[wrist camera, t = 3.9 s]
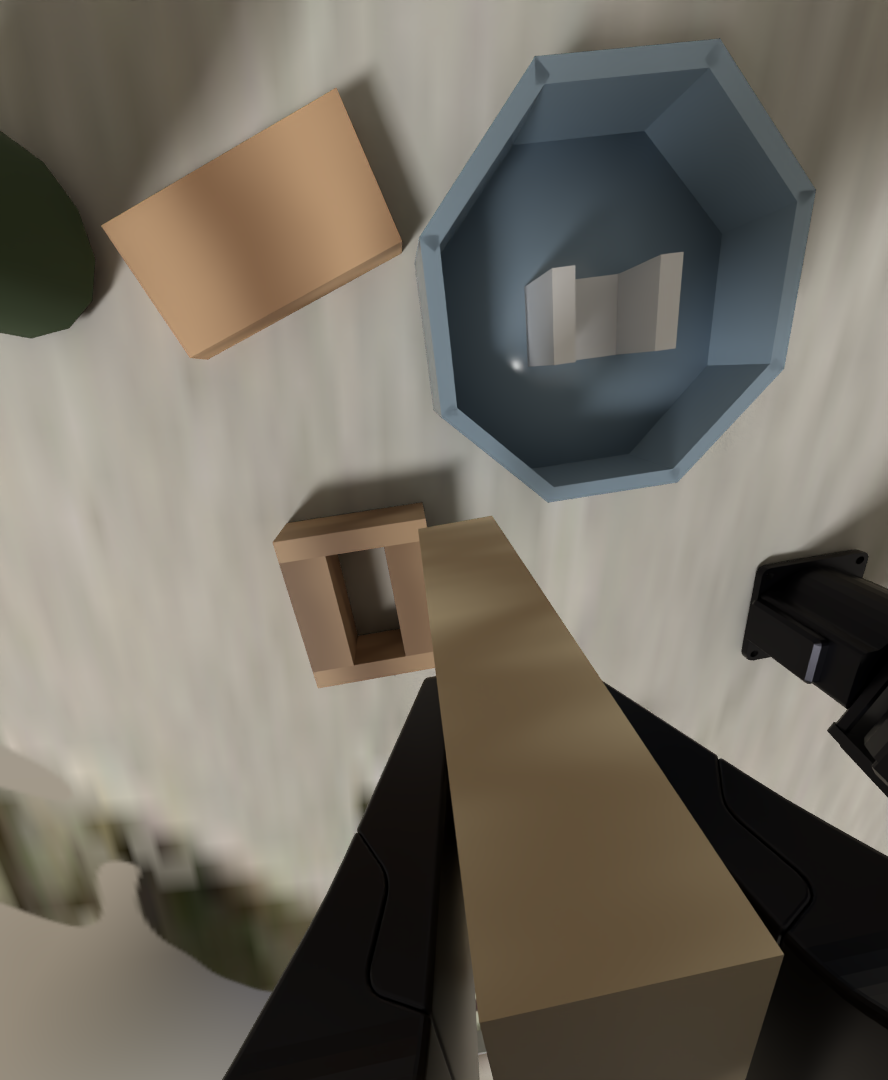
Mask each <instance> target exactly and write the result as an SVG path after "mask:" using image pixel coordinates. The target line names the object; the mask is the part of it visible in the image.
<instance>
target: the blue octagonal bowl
mask: <svg viewBox="0 0 888 1080" xmlns="http://www.w3.org/2000/svg"><path fill="white" fill-rule="evenodd" d="M815 193H816V189H815V188H814V186H813V185H812V183H811V181H810V180H809V178H808V177H807V175H806V174H805V172H804V170H803V169H802V167H801V166H800V164H799V162H798V161H797V159H796V158H795V156H794V155H793V153H792V151H791V150H790V148H789V147H788V145H787V144H786V142H785V140H784V139H783V137H782V136H781V134H780V132H779V131H778V129H777V128H776V126H775V125H774V123H773V121H772V120H771V118H770V117H769V115H768V114H767V112H766V110H765V109H764V107H763V106H762V104H761V102H760V101H759V99H758V98H757V96H756V95H755V93H754V91H753V90H752V88H751V87H750V85H749V84H748V82H747V80H746V79H745V77H744V76H743V74H742V72H741V71H740V69H739V68H738V66H737V65H736V63H735V61H734V60H733V58H732V57H731V55H730V54H729V52H728V50H727V49H726V47H725V46H724V44H723V42H722V41H721V39H720V38H719V39H710V40H700V41H689V42H679V43H669V44H658V45H648V46H637V47H627V48H617V49H606V50H596V51H585V52H575V53H565V54H554V55H544V56H535V57H534V59H533V61H532V62H531V64H530V65H529V67H528V68H527V70H526V72H525V73H524V75H523V76H522V78H521V79H520V81H519V82H518V84H517V86H516V87H515V89H514V90H513V92H512V93H511V95H510V97H509V98H508V100H507V101H506V103H505V104H504V106H503V107H502V109H501V111H500V112H499V114H498V115H497V117H496V118H495V120H494V122H493V123H492V125H491V126H490V128H489V129H488V131H487V132H486V134H485V136H484V137H483V139H482V140H481V142H480V143H479V145H478V146H477V148H476V150H475V151H474V153H473V154H472V156H471V157H470V159H469V161H468V162H467V164H466V165H465V167H464V168H463V170H462V171H461V173H460V175H459V176H458V178H457V179H456V181H455V182H454V184H453V186H452V187H451V189H450V190H449V192H448V193H447V195H446V196H445V198H444V200H443V201H442V203H441V204H440V206H439V207H438V209H437V211H436V212H435V214H434V215H433V217H432V218H431V220H430V221H429V223H428V225H427V226H426V228H425V229H424V231H423V232H422V234H421V236H419V242H418V247H417V253H416V259H415V270H416V278H417V285H418V293H419V301H420V308H421V316H422V324H423V332H424V339H425V347H426V355H427V362H428V370H429V378H430V386H431V393H432V401H433V409H434V411H435V412H436V413H437V414H438V415H439V416H440V417H441V418H443V419H444V420H446V421H447V422H448V423H449V424H451V425H452V426H453V427H454V428H456V429H457V430H458V431H459V432H461V433H462V434H463V435H464V436H466V437H467V438H468V439H469V440H471V441H472V442H473V443H474V444H476V445H477V446H478V447H479V448H481V449H482V450H483V451H484V452H486V453H487V454H488V455H489V456H491V457H492V458H493V459H494V460H496V461H497V462H498V463H499V464H501V465H502V466H503V467H504V468H506V469H507V470H508V471H509V472H511V473H512V474H513V475H514V476H516V477H517V478H518V479H519V480H521V481H522V482H523V483H524V484H526V485H527V486H528V487H529V488H531V489H532V490H533V491H534V492H536V493H537V494H538V495H539V496H541V497H542V498H543V499H544V500H545V501H547V502H548V503H549V502H554V501H561V500H567V499H574V498H580V497H586V496H593V495H599V494H606V493H612V492H618V491H625V490H631V489H638V488H644V487H650V486H657V485H663V484H670V483H676V482H678V481H679V480H680V479H681V478H682V477H683V476H684V475H685V474H686V473H687V472H688V471H689V470H690V468H691V467H692V466H693V465H694V464H695V463H696V462H697V461H698V460H699V459H700V458H701V457H702V456H703V455H704V454H705V452H706V451H707V450H708V449H709V448H710V447H711V446H712V445H713V444H714V443H715V442H716V441H717V440H718V439H719V438H720V436H721V435H722V434H723V433H724V432H725V431H726V430H727V429H728V428H729V427H730V426H731V425H732V424H733V423H734V422H735V420H736V419H737V418H738V417H739V416H740V415H741V414H742V413H743V412H744V411H745V410H746V409H747V408H748V407H749V406H750V404H751V403H752V402H753V401H754V400H755V399H756V398H757V397H758V396H759V395H760V394H761V393H762V392H763V391H764V390H765V388H766V387H767V386H768V385H769V384H770V383H771V382H772V381H773V380H774V379H775V378H776V377H777V376H778V375H779V374H780V372H781V371H782V370H783V369H784V366H785V361H786V355H787V350H788V344H789V338H790V333H791V327H792V322H793V316H794V310H795V305H796V299H797V294H798V288H799V282H800V277H801V271H802V266H803V260H804V254H805V249H806V243H807V238H808V232H809V226H810V221H811V215H812V210H813V204H814V198H815Z"/></svg>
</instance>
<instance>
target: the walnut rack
mask: <svg viewBox="0 0 888 1080" xmlns="http://www.w3.org/2000/svg"><path fill="white" fill-rule="evenodd" d="M426 527H427V524H426V518H425V513H424V509H423V504H422V502H421V503H414V504H408V505H401V506H394V507H388V508H381V509H375V510H368V511H362V512H355V513H349V514H342V515H336V516H329V517H323V518H316V519H310V520H303V521H297V522H290V523H287V524H286V525H285V526H284V528H283V529H282V530H281V532H280V533H279V535H278V536H277V537H276V539H275V540H274V541H273V545H274V548H275V552H276V555H277V558H278V561H279V565H280V568H281V571H282V574H283V577H284V581H285V584H286V587H287V590H288V593H289V597H290V600H291V603H292V606H293V609H294V613H295V616H296V619H297V622H298V626H299V629H300V632H301V635H302V638H303V642H304V645H305V648H306V651H307V654H308V658H309V661H310V664H311V667H312V670H313V674H314V677H315V680H316V683H317V687H318V688H323V687H328V686H334V685H340V684H345V683H351V682H357V681H363V680H368V679H374V678H380V677H385V676H391V675H397V674H402V673H408V672H414V671H419V670H425V669H431V668H435V662H434V654H433V646H432V638H431V629H430V621H429V613H428V605H427V597H426V589H425V581H424V573H423V565H422V557H421V549H420V541H419V533H418V529H421V528H426ZM380 547H384V549H385V554H386V559H387V564H388V569H389V574H390V579H391V584H392V589H393V594H394V599H395V604H396V609H397V614H398V619H399V624H400V629H395V630H389V631H384V632H378V633H372V634H366V635H360V636H358V634H357V630H356V626H355V622H354V618H353V614H352V610H351V606H350V602H349V598H348V594H347V590H346V586H345V581H344V577H343V573H342V569H341V565H340V561H339V557H338V554H342V553H348V552H355V551H361V550H367V549H373V548H380Z"/></svg>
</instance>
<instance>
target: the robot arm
mask: <svg viewBox="0 0 888 1080" xmlns="http://www.w3.org/2000/svg"><path fill="white" fill-rule="evenodd" d="M867 561H868V554H867V553H865V552H862V551H860V550H850V551H845V552H839V553H833V554H827V555H821V556H815V557H809V558H803V559H797V560H791V561H786V562H780V563H774V564H768V565H764V566H762V567H760V568H759V569H758V571H757V573H756V577H755V582H754V588H753V593H752V598H751V604H750V609H749V614H748V620H747V625H746V630H745V636H744V641H743V646H742V655H743V656H744V657H746V658H747V659H748V660H757V659H763V658H768V657H772V658H773V659H775V660H776V661H777V662H779V663H780V664H781V665H783V666H784V667H785V668H787V669H788V670H789V671H791V672H792V673H793V674H795V675H796V676H797V677H799V678H800V679H801V680H803V681H804V682H805V683H807V684H811V683H813V684H814V685H815V686H817V687H818V688H819V689H821V690H822V691H823V692H825V693H826V694H827V695H829V696H830V697H832V698H833V699H834V700H836V701H837V702H838V703H840V704H841V705H842V706H844V707H845V708H846V709H847V710H846V712H845V713H844V714H843V715H842V716H841V718H840V719H839V720H838V721H837V723H836V722H833V724H832V725H831V726H830V727H829V728H828V730H827V731H828V732H829V733H830V734H831V736H832V737H833V738H834V739H835V740H836V741H837V742H838V743H839V744H840V746H841V748H842V749H843V750H844V751H845V752H846V753H847V754H848V755H849V756H850V757H851V759H852V760H853V761H854V762H855V763H856V764H857V765H858V766H859V767H860V768H861V769H862V770H863V771H864V772H865V774H866V775H867V776H868V777H869V778H870V779H871V780H872V781H873V782H874V783H875V784H876V785H877V786H878V787H879V789H880V790H881V791H882V792H883V793H884V794H885V795H886V796H887V797H888V589H887V588H884V587H882V586H880V585H877V584H875V583H873V582H871V581H868V580H866V579H864V578H862V577H863V574H864V571H865V567H866V564H867ZM602 682H603V681H602ZM603 683H604V685H605V686H606V688H607V689H608V691H609V692H610V694H611V695H612V697H613V698H614V700H615V701H616V703H617V704H618V706H619V707H620V709H621V710H622V712H623V713H624V715H625V716H626V718H627V719H628V721H629V722H630V724H631V725H632V727H633V728H634V730H635V731H636V733H637V734H638V736H639V737H640V739H641V740H642V742H643V743H644V745H645V746H646V748H647V749H648V751H649V752H650V754H651V755H652V757H653V758H654V760H655V761H656V763H657V764H658V766H659V767H660V769H661V770H662V772H663V773H664V775H665V776H666V778H667V779H668V781H669V782H670V784H671V785H672V787H673V788H674V790H675V791H676V793H677V794H678V796H679V797H680V799H681V800H682V802H683V803H684V805H685V806H686V808H687V809H688V811H689V812H690V814H691V815H692V817H693V818H694V820H695V821H696V823H697V824H698V826H699V827H700V829H701V830H702V832H703V833H704V835H705V836H706V838H707V839H708V841H709V842H710V844H711V845H712V847H713V848H714V850H715V851H716V853H717V854H718V856H719V857H720V859H721V860H722V862H723V863H724V865H725V866H726V868H727V869H728V871H729V872H730V874H731V875H732V877H733V878H734V880H735V881H736V883H737V884H738V886H739V887H740V889H741V890H742V892H743V893H744V895H745V896H746V898H747V899H748V901H749V902H750V904H751V905H752V907H753V908H754V910H755V911H756V913H757V914H758V916H759V917H760V919H761V920H762V922H763V923H764V925H765V926H766V928H767V929H768V931H769V932H770V934H771V935H772V937H773V938H774V940H775V941H776V943H777V944H778V946H779V947H780V949H781V950H782V952H783V953H784V957H783V960H782V963H781V966H780V970H779V973H778V976H777V979H776V982H775V986H774V989H773V992H772V995H771V999H770V1002H769V1005H768V1008H767V1011H766V1015H765V1018H764V1021H763V1024H762V1027H761V1031H760V1034H759V1037H758V1040H757V1044H756V1047H755V1050H754V1053H753V1056H752V1060H751V1063H750V1066H749V1069H748V1073H747V1076H746V1079H745V1080H888V856H886V855H884V854H882V853H881V852H879V851H877V850H875V849H873V848H872V847H870V846H868V845H866V844H865V843H863V842H861V841H859V840H857V839H856V838H854V837H852V836H850V835H848V834H847V833H845V832H843V831H841V830H839V829H838V828H836V827H834V826H832V825H830V824H829V823H827V822H825V821H823V820H822V819H820V818H818V817H817V816H815V815H813V814H811V813H810V812H808V811H806V810H804V809H803V808H801V807H799V806H798V805H796V804H794V803H792V802H791V801H789V800H787V799H785V798H784V797H782V796H780V795H779V794H777V793H776V792H774V791H772V790H771V789H769V788H768V787H766V786H764V785H763V784H761V783H760V782H758V781H756V780H755V779H753V778H752V777H750V776H748V775H747V774H745V773H744V772H742V771H741V770H739V769H737V768H736V767H734V766H733V765H731V764H730V763H728V762H727V761H725V760H724V759H721V758H720V759H718V757H717V755H716V754H714V753H713V752H711V751H709V750H708V749H706V748H705V747H703V746H702V745H700V744H699V743H697V742H696V741H694V740H693V739H691V738H689V737H688V736H686V735H685V734H683V733H682V732H680V731H679V730H677V729H676V728H674V727H673V726H671V725H670V724H668V723H666V722H665V721H663V720H662V719H660V718H659V717H657V716H656V715H654V714H653V713H651V712H650V711H648V710H646V709H645V708H643V707H642V706H640V705H639V704H637V703H636V702H634V701H633V700H631V699H630V698H628V697H626V696H625V695H623V694H622V693H620V692H619V691H617V690H616V689H614V688H613V687H611V686H610V685H608V684H606V683H605V682H603ZM357 832H358V833H356V834H355V835H354V837H353V839H352V841H351V843H350V846H349V848H348V850H347V852H346V855H345V857H344V859H343V861H342V863H341V865H340V867H339V869H338V872H337V874H336V876H335V878H334V880H333V882H332V884H331V886H330V888H329V890H328V892H327V894H326V896H325V898H324V900H323V902H322V904H321V906H320V907H319V909H318V911H317V913H316V915H315V917H314V918H313V920H312V922H311V924H310V926H309V928H308V930H307V931H306V933H305V935H304V937H303V939H302V940H301V942H300V944H299V946H298V948H297V949H296V951H295V953H294V955H293V956H292V958H291V960H290V962H289V963H288V965H287V967H286V969H285V970H284V972H283V974H282V976H281V978H280V979H279V981H278V983H277V985H276V986H275V988H274V990H273V992H272V993H271V995H270V997H269V999H268V1001H267V1002H266V1004H265V1006H264V1008H263V1009H262V1011H261V1013H260V1015H259V1016H258V1018H257V1020H256V1022H255V1024H254V1025H253V1027H252V1029H251V1031H250V1032H249V1034H248V1036H247V1038H246V1039H245V1041H244V1043H243V1045H242V1047H241V1048H240V1050H239V1052H238V1054H237V1055H236V1057H235V1059H234V1060H233V1062H232V1064H231V1066H230V1067H229V1069H228V1071H227V1072H226V1074H225V1076H224V1077H223V1079H222V1080H479V1062H478V1042H477V1022H476V1002H475V985H474V977H473V968H472V960H471V952H470V944H469V936H468V928H467V920H466V912H465V904H464V896H463V888H462V880H461V872H460V864H459V855H458V847H457V839H456V831H455V823H454V815H453V807H452V799H451V791H450V783H449V775H448V767H447V759H446V751H445V742H444V734H443V726H442V718H441V710H440V702H439V694H438V686H437V678H436V676H434V677H429V678H426V679H425V680H424V682H423V684H422V686H421V688H420V690H419V693H418V695H417V697H416V699H415V701H414V704H413V706H412V708H411V710H410V713H409V715H408V717H407V719H406V722H405V724H404V726H403V728H402V730H401V733H400V735H399V737H398V739H397V742H396V744H395V746H394V748H393V750H392V753H391V755H390V757H389V759H388V762H387V764H386V766H385V768H384V771H383V773H382V775H381V777H380V779H379V782H378V784H377V786H376V788H375V791H374V793H373V795H372V797H371V799H370V802H369V804H368V806H367V808H366V811H365V813H364V815H363V817H362V819H361V822H360V824H359V826H358V828H357Z"/></svg>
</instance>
